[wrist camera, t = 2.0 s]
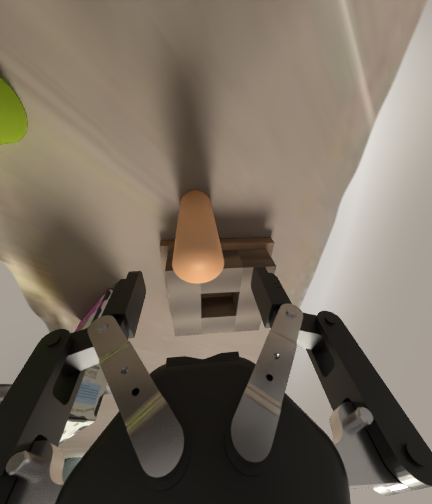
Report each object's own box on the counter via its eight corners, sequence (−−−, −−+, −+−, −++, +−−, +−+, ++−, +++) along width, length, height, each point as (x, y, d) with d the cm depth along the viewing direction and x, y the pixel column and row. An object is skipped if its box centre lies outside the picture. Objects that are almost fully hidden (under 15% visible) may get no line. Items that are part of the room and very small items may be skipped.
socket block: (161, 240, 27) (155, 265, 22) (270, 237, 28) (285, 259, 24) (172, 312, 36) (169, 340, 32) (254, 307, 38) (263, 332, 33)
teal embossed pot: (92, 459, 93) (80, 499, 83) (74, 463, 94) (60, 503, 84) (77, 456, 87) (62, 499, 77) (58, 460, 88) (41, 503, 78)
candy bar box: (107, 286, 31) (43, 415, 17) (136, 298, 33) (98, 421, 20) (78, 321, 35) (7, 448, 21) (105, 330, 37) (57, 449, 24)
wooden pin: (178, 190, 23) (169, 243, 13) (211, 190, 24) (225, 242, 14) (181, 220, 25) (174, 284, 16) (211, 220, 26) (222, 282, 16)
